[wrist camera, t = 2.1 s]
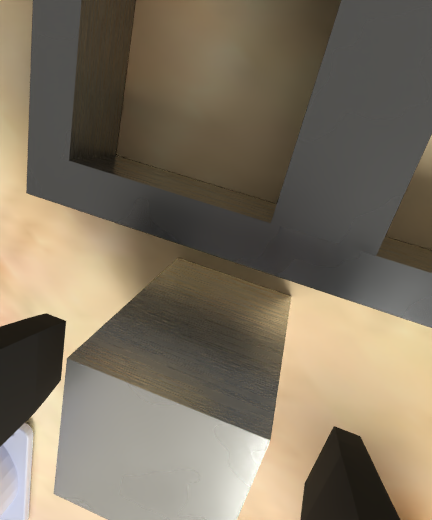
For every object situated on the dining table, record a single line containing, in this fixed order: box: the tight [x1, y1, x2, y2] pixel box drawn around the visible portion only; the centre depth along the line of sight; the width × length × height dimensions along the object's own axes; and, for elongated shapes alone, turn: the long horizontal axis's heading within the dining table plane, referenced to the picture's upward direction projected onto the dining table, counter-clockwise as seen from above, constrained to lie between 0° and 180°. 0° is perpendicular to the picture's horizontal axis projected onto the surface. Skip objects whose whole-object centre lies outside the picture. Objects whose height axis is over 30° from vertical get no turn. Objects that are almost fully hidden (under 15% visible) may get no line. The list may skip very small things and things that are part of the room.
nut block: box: [54, 258, 291, 520], centre depth 10 cm, size 4×4×6 cm
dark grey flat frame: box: [26, 0, 432, 328], centre depth 8 cm, size 16×8×2 cm, turn 76°
